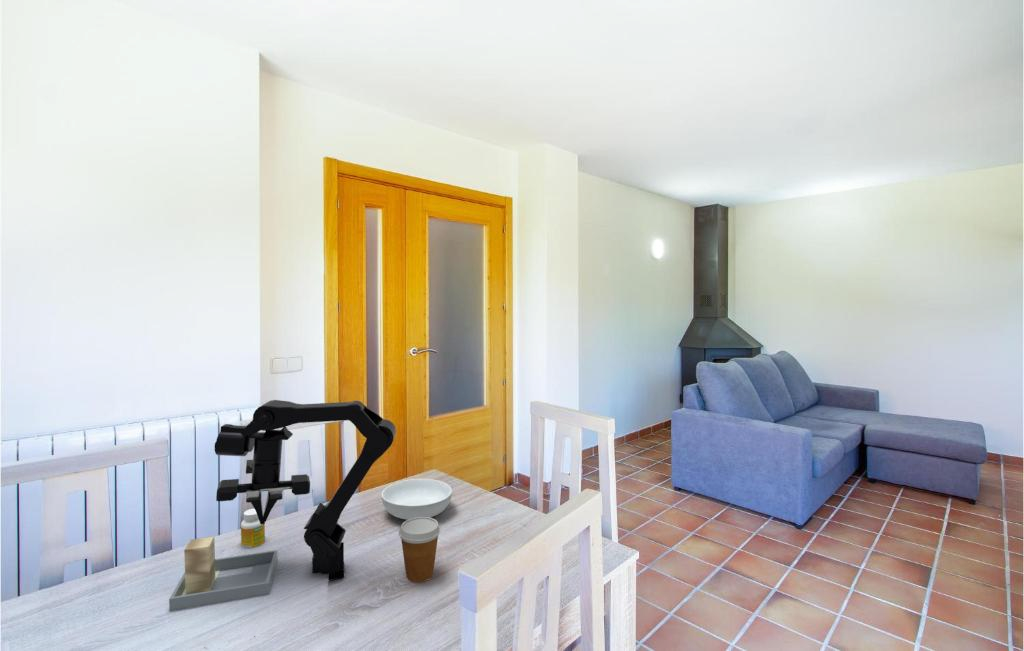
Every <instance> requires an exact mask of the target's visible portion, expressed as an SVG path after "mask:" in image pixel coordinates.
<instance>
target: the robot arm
mask: <svg viewBox="0 0 1024 651" xmlns="http://www.w3.org/2000/svg"><path fill="white" fill-rule="evenodd" d="M340 421H349V422H350V423H352V424H353V426H355V428H356V429H357V430H358V432H359V433H360V434H361V435H362V436H363V437H364V438H365V442H364V444H363V447H362V449H361V451H360V454H359V455H358V457H357V458H356V460H355V462H354V463H353V464H352V467H351V468H350V470H349V471H348V473H347V474H346V475H345V478H343V480H342V482H340V483H341V484H339V487H338V488H337V490H336V491H335V493H334V494H333V496H332V497H331V499H329V501H328V502H327V503H326V504H325V505H324V504H323V503H322V502H319V504H318V506H317V507H316V509H315V510H314V512H313V514H311V516H310V517H309V519H308V521H307V522H306V524H305V526H304V527H303V530H305V532H304V534H303V540H304V542H305V544H306V545H307V546H308V547H310V550H311V552H312V559H311V570H312V571H311V573H312V574H321V575H328V577H327V580H328V581H333V580H339V579H343V578H345V554H344V553H345V550H344V549H345V546H344V545H345V544H344V542H343V540H344V538H345V535H346V532H347V530H346V528H344V527H343V526H341V525H340V524H339V520H340V518H341V516H342V512H343V511H344V509H345V507H346V506H347V505H348V503H349V501H350V500H351V498H352V497H353V496H354V494H355V492H356V491H357V489H358V488H359V486H360V485H361V483H362V481H364V478H365V477H366V475H367V474H368V472H369V470H370V469H371V468H372V466H373V464H374V463H375V462H376V461H377V460H379V459H380V458H381V457H382V456H383V455H384V453H386V452H387V451H388V450H389V449H390V447H392V444H393V442H394V440H395V436H396V434H397V429H396V425H395V424H394V423H393V422H392V421H391V420H389V419H384V418H383V417H382V416H380V415H379V414H378V413H376V412H375V411H373V410H371V409H370V408H368V407H367V405H365V404H364V403H363V402H362V401H359V400H352V401H344V402H338V401H337V402H324V403H323V402H322V403H296V402H293V401H288V400H279V399H273V400H269V401H266V402H265V403H263V404H262V405H260V406H258V407H257V408H256V409H255V410H254V412H253V415H252V420H251V421H250V422H249V423H248V424H247V425H235V424H230V423H225V424H223V425H222V426H220V431H219V433H218V435H217V437H216V442H214V452H215V455H216V456H229V457H246V456H247V455H248V453H251V452H252V451H253V458H252V459H247V460H246V467H245V474H251V483H250V482H249V483H240V478H233V479H232V478H231V479H222V480H221V481H219V482H218V485H217V489H216V498H215V500H216V501H215V502H228V501H230V502H231V501H234V500H235V499H236V498H237V497H238V494H245V495H246V496H245V497H246V499H245V502H246V503H250V504H251V505H252V506H253V509H255V510H256V513H257V516H258V518H259V521H260V524H265V525H266V522H267V519H268V518H269V516H270V513H271V511H272V509H273V507H274V506H275V505H276V503H277V502H278V501H280V500H283V492H284V490H291V493H292V494H293V495H294V496H300V495H309V494H310V493H311V480H310V476H309V475H308V474H307V473H306V474H294V475H293V474H292V475H291V476H290V479H289V480H280V478H281V466H282V465H281V464H282V452H283V451H282V449H283V440H284V441H288V440H290V438H291V437H292V436H293V435H294V434H293V432H292V431H290V430H289V429H288V428H287V427H288V426H292V425H296V424H300V423H302V424H306V423H320V422H321V423H322V422H323V423H324V422H340ZM261 431H263V432H261ZM262 492H267V495H266V501H265V504H264V508H263V498H262V497H263V496H262V494H263V493H262Z"/></svg>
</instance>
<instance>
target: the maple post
mask: <svg viewBox="0 0 1024 651" xmlns="http://www.w3.org/2000/svg"><path fill="white" fill-rule="evenodd" d="M215 544H216V543H215V536H210V537H202V538H194V539H190V541H189V542H188V544H187V545H186V547H185V548H184V549H183V551H184V554H183V555H184V573H185V588H186V595H188V594H194V593H201V592H207V591H211V589H212V587H213V585H214V582H215V559H216V548H215V547H216V546H215Z"/></svg>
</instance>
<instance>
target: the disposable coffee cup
mask: <svg viewBox="0 0 1024 651" xmlns="http://www.w3.org/2000/svg"><path fill="white" fill-rule="evenodd" d="M440 533H441V527H440V525H439V522H438V520H437V519H435V518H433V517H415V518H411V519H408V520H406V519H405V521H403V522H402V524H401V526H400V528H399V530H398V535H399V537H400V541H401V546H402V548H401V549H402V556H403V562H404V571H405V578H406V579H407V580H408V581H410V582H412V583H423V582H422V581H424V582H425V580H427V579H429V578H430V579H431V578H433V576H434V570H435V565H436V564H435V563H436V554H437V553H436V552H437V547H438V538H439V534H440ZM432 575H433V576H432ZM430 579H429V580H430ZM427 581H428V580H427Z"/></svg>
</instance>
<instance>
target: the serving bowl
mask: <svg viewBox="0 0 1024 651" xmlns="http://www.w3.org/2000/svg"><path fill="white" fill-rule="evenodd" d="M380 494H381V502H382V505H383V507H384V508H385V510H386V511H387V512H388V513H389V514H390V515H392V516H394V517H395V518H398V519H401V520H405V521H406V520H408V519H411V518H415V517H430V518H433V517H435V516H438V515H439V514H441V513H443V511H445V510H446V509H447V507H448V506H449V504H450V502H451V499H452V496H453V489H452V486H450V485H449V484H447V483H446V482H444V481H442V480H437V479H433V478H411V479H405V480H400V481H396V482H394V483H391V484H389V485H388V486H386V487H385V488H383V490H382V491H381V493H380Z"/></svg>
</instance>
